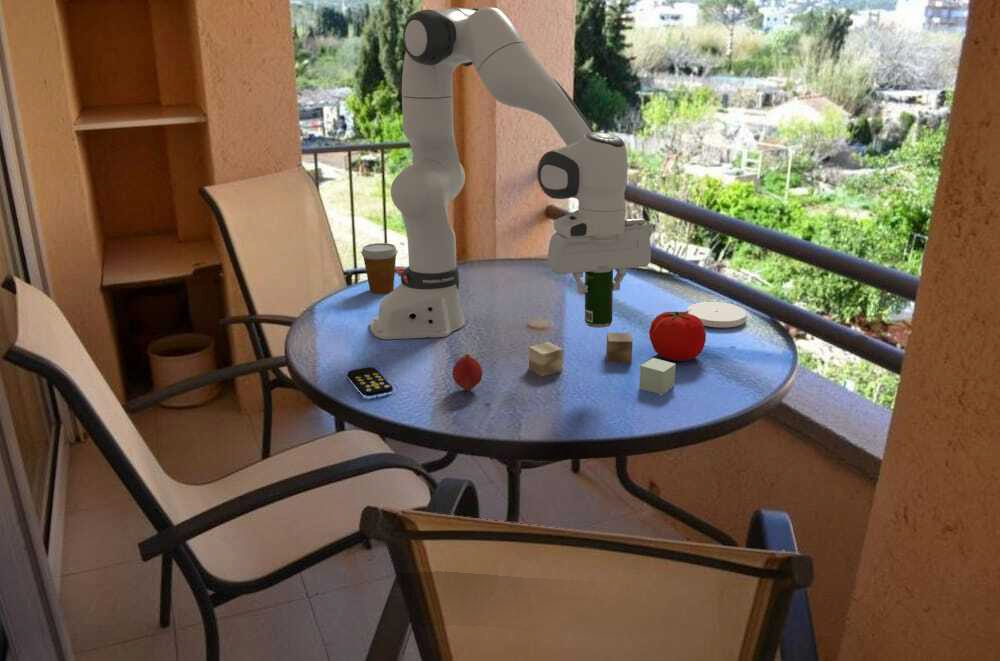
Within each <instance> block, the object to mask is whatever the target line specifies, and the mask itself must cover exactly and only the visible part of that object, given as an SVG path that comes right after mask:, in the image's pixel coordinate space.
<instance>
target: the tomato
mask: <svg viewBox="0 0 1000 661" xmlns="http://www.w3.org/2000/svg"><path fill="white" fill-rule="evenodd" d="M691 310H692V309H691ZM689 311H690V310H689ZM649 327H650V328H649V331H648V333H649V340H650V343H651V345H652V347H653V349H654V351H655V352H656V354H658V355H659V356H661V357H663V358H665V359H666V360H671V361H686V362H687V361H690V360H694V359H695V358H697V357H698V356H699V355H700V354H701V353H702V352H703V350H704V348H705V344H706V339H707V333H706V329H705V325H703V322H702V321H701V320H700V319H699V318H698V317H696V316H694V315H691V314H689V313H688V311H687V310H686V311H664V312H662V313H660V314H658V315H656V317H654V319H653V320H652V321H651V324H650V326H649Z"/></svg>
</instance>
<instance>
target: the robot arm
mask: <svg viewBox="0 0 1000 661" xmlns="http://www.w3.org/2000/svg"><path fill="white" fill-rule="evenodd" d="M402 40H403V45H404V49H405V54H404V60H403V65H402V67H403V68H402V77H401V104H402V106H401V108H402V131H403V134H404V136H405V137H406V139H407V141H408V143H409V146H410V149H411V153H412V158H413V164H410V165H408V166H405V167H404V168H403V169H402V170H401V171H400V172H399V173H398V174H397V175H396V177H395V178H394V179H393V180H392V183H391V186H390V196H391V201H392V203H393V204H394V206H395V207H396V209H398V211H399V212H400V214H401V217H402V220H403V224H404V228H405V232H406V239H407V254H408V266H407V267H406V268H404V267H403V266H398V267H397V268H395V271H396V272H395V273H396V274H397V276H398V277H400V284H399V285H397V287H394V290H393V291H392V292H390V293H387V294H386V295H385V296H384V297H383V298H382V300H381V301H380V304H379V309H378V315H377V316H373V318H371V320H370V321H369V330H370V332H371V334H373V335H374V336H375V337H376V338H378V339H381V340H401V339H402V340H404V339H405V340H406V339H424V338H425V339H426V337H430V338H443V337H448V336H449V335H451V333H453V332H454V331H456V330H460V329H461V328H463V326H464V325H465V324H466V321H465V318H464V315H463V311H462V308H461V302H460V295H459V290H460V289H459V287H460V271H459V266H458V265H457V241H456V237H457V236H456V233H455V231H454V229H453V228H452V226H451V223H450V220H449V216H448V211H447V210H448V209H447V204H448V203H449V202H451V201H453V200H454V199H455V198H456V197H457V196H458V195H459V194H460V193H461V191H462V189H463V187H464V186H465V184H466V172H465V169H464V167H463V165H462V164H461V161H460V157H459V154H458V153H459V152H458V148H457V143H456V137H455V130H454V102H453V101H454V99H453V98H454V96H453V95H454V93H453V92H454V90H453V76H454V75H453V74H454V72H455V70H456V69H457V67H459V66H461V65H462V66H464V67H465V68H466V67H469V66H472V65H473V67H474V68H475V70H476V73H477V75H478V76H479V78H480V79H481V80H480V81H482V84H483V86H484V87H485V88H486V90H487V91H488V92H489V94H490V95H491V96H492V97H493V98H494V99H495V100H496V101H497V102H499V103H501V104H502V105H505V106H509V107H511V108H517V109H521V110H524V111H525V110H526V111H527V112H528V111H529V112H531V113H535V114H537V115H539V116H541V117H542V118H544V119H545V120H547V121H548V123H550V124H551V125H552V127H553V128H554V129H555V131H556V133H557V134H558V135H559V136H560V138H561V139H562V141H563V142H564V143H565V145H566V146H562V147H558V148H556V149H551V150H550V151H546V152H545V153H544V154H543V155H542V157H540V160H539V161H538V164H537V170H536V171H537V172H536V173H537V174H536V176H537V182H538V185H539V187H540V189H541V190H542V192H543V193H544V194H545V195H546V196H547V197H549V198H551V199H554V200H565V199H566V200H567V199H571V198H574V199H576V200H577V201H578V206H577V208H578V209H577V210H575V211H573V212H571V213H568V214H566V215H564V216H561V217H558V218H556V219H555V220H554V221H553V224H552V225H553V227H552V228H553V229H554V231H556V232H555V233H554V234H553V235H552V236H551V237H550V240H549V244H548V252H547V266H548V268H549V269H550V271H551V272H552V273H553V274H555V275H568V274H571V275H572V277H573V279H574V281H575V282H576V284H577V294H579V295H583V294H584V295H585V294H586V293H588V290H587V289H588V285H587V284H585V282H583V281H582V278H584V273H585V272H592V271H596V270H597V269H599V268H598V267H605V266H609V269H611V270H613V271H614V270H615V272H616V274H615V275H614V277H613V292H615V291H616V292H617V291H620V289H621V282H622V281H623V280H624V278H625V276H626V275H627V269H630V268H631V269H634V268H635V269H636V268H643V267H647V266H649V264H650V262H651V260H652V250H651V240H650V238H651V236H652V224H651V223H650V222H649V221H647V220H646V219H644V218H637V219H633V218H632V219H626V211H627V210H626V209H627V208H626V207H627V205H626V199H625V192H626V188H627V185H628V170H629V169H628V163H629V162H628V151H627V147H626V144H625V141H624V140H623V139H622V138H621V137H619V136H617V135H615V134H612V133H610V132H609V133H608V132H601V131H596V130H595V129H594V127H592V124H590V122H589V120H587V118H586V117H585V115H584V114H583V112H582V111H581V110H580V108H579V107H578V106H577V104H576V103H575V101H574V100H573V99H572V97H571V95H570V94H569V92H567V91H566V89H565V88H564V87H563V86H562V85H561V84H560V83H559V82H558V81H557V80H556V79H555V78H554V77H553V76H551V74H550V73H548V72H547V71H546V69H545V68H544V67H543V66H542V64H541V63H540V62H539V61H538V59H537V58H536V57H535V55H534V54H533V53H532V51H531V49H530V48H529V46H528V43H526V40H525V39H524V38H523V36H522V35H521V33H520V32H519V30H518V29H517V28H516V27H515V25H514V24H513V23H512V21H511V20H510V19H509V17H507V15H506V14H505V13H504V12H503V11H502V10H501V9H499V8H497V7H492V6H488V7H487V6H486V7H481V8H465V7H448V8H438V9H430V8H429V9H424V10H420V11H417V12H415V13H412V14H411V15H410V16H409V17H408V18H407V19H406V20H405V23H404V27H403V31H402Z"/></svg>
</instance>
